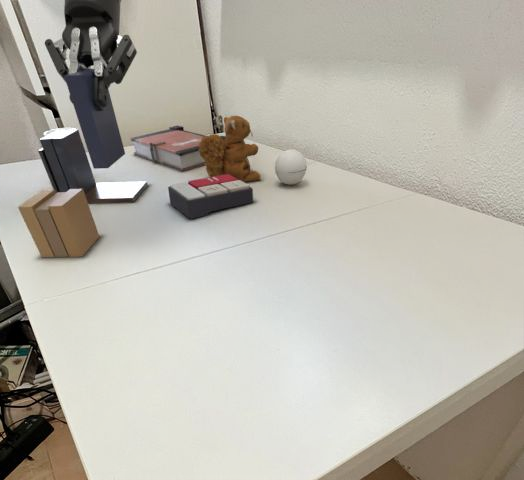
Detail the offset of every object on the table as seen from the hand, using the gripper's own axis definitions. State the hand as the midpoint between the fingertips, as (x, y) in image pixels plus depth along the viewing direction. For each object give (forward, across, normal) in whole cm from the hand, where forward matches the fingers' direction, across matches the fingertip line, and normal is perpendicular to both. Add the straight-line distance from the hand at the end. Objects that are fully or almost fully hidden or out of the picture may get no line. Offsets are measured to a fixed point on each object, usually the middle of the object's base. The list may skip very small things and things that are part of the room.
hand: (88, 107), depth 56 cm
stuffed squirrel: (-10, +14, +40) cm, 44 cm away
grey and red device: (+2, +12, +28) cm, 31 cm away
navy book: (+4, 0, +7) cm, 8 cm away
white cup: (-16, -31, +47) cm, 58 cm away
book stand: (-3, -15, +33) cm, 37 cm away
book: (-24, -4, +55) cm, 60 cm away
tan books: (+16, -10, +14) cm, 24 cm away
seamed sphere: (-6, +31, +36) cm, 48 cm away
